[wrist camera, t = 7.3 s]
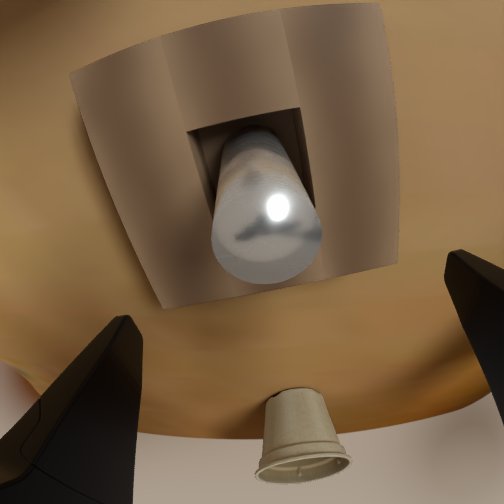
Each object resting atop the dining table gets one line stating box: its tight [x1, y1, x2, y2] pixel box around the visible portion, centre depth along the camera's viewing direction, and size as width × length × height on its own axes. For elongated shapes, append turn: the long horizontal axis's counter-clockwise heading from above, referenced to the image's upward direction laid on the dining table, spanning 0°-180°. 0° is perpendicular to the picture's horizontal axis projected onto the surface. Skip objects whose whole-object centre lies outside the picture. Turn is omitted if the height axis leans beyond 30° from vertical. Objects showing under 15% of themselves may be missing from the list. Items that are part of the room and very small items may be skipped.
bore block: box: [69, 3, 400, 309], centre depth 16 cm, size 14×14×4 cm
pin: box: [211, 125, 322, 284], centre depth 13 cm, size 3×3×9 cm
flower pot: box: [255, 388, 352, 485], centre depth 29 cm, size 9×9×9 cm
